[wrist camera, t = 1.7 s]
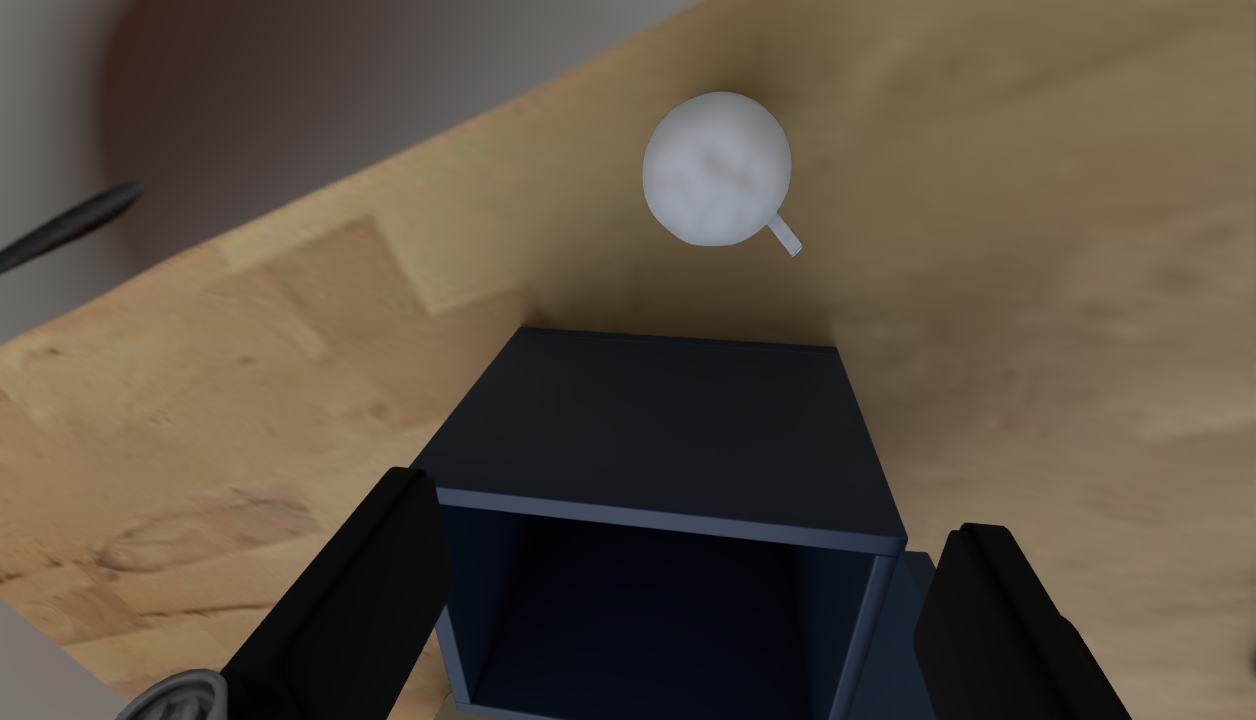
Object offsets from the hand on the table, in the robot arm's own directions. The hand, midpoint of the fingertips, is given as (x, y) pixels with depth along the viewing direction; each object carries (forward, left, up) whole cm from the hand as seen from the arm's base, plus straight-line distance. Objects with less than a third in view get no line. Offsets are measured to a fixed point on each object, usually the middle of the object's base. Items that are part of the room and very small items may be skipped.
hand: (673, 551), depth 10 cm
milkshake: (-3, -3, -19) cm, 19 cm away
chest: (+9, +8, -19) cm, 22 cm away
